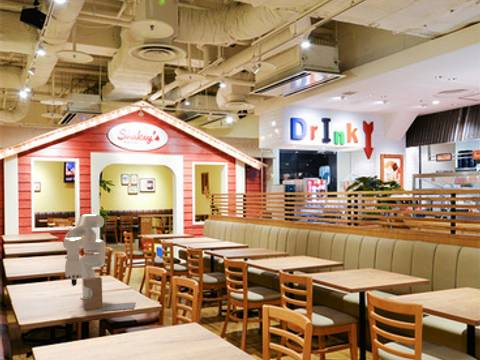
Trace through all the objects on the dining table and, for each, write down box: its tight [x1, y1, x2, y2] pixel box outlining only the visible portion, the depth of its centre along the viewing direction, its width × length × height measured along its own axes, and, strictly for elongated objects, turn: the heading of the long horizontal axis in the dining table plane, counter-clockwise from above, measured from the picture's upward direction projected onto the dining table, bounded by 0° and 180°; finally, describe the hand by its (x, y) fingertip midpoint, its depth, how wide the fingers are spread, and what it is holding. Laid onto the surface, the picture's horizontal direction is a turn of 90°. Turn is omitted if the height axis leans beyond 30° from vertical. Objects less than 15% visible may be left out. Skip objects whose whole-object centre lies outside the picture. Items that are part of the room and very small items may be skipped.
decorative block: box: [83, 276, 104, 311], centre depth 313 cm, size 11×6×20 cm, turn 119°
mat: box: [101, 301, 136, 312], centre depth 313 cm, size 16×20×1 cm
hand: (74, 285), depth 311 cm, fingers closed
